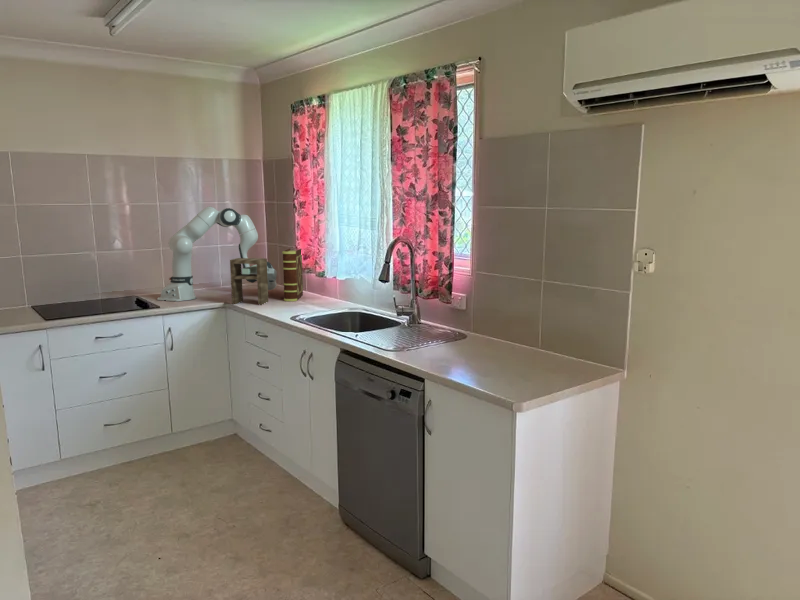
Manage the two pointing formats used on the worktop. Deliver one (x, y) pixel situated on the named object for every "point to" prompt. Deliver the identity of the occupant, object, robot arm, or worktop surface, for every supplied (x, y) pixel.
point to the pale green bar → (249, 269)
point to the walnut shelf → (238, 276)
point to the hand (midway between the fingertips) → (255, 267)
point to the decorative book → (292, 275)
